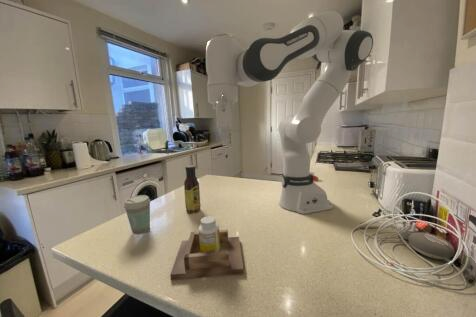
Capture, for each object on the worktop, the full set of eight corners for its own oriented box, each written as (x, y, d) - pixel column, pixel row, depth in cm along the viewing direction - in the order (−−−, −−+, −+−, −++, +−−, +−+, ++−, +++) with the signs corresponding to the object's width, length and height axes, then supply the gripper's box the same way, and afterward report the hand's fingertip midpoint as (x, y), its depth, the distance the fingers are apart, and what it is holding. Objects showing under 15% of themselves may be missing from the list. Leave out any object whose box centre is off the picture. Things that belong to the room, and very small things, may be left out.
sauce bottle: (197, 215, 83) (193, 168, 79) (183, 214, 84) (179, 168, 80) (203, 208, 89) (200, 164, 85) (190, 207, 90) (186, 164, 87)
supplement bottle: (211, 244, 60) (208, 213, 59) (224, 251, 57) (222, 218, 55) (196, 254, 56) (193, 220, 54) (209, 262, 53) (207, 227, 51)
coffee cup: (129, 227, 75) (124, 197, 73) (153, 222, 78) (150, 193, 76) (126, 239, 67) (121, 206, 65) (154, 232, 71) (149, 201, 68)
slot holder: (239, 240, 64) (238, 226, 63) (243, 273, 51) (242, 256, 50) (182, 245, 63) (180, 230, 62) (170, 279, 49) (168, 262, 48)
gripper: (235, 91, 49) (237, 147, 52) (232, 99, 69) (233, 139, 72) (209, 92, 49) (212, 148, 52) (213, 100, 69) (216, 140, 72)
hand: (225, 143), depth 62 cm, fingers open, 8 cm apart
